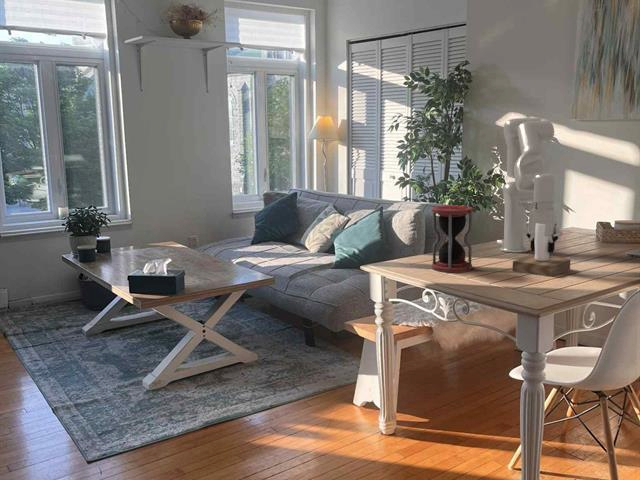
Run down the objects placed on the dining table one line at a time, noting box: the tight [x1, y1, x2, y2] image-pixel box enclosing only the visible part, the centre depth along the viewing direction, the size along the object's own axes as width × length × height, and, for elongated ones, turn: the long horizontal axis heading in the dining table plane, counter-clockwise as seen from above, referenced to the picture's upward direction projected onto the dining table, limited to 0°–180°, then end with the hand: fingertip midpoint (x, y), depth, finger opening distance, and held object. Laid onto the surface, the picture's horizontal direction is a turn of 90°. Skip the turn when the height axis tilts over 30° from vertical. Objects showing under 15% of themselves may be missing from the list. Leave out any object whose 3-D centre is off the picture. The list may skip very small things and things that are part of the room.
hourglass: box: [431, 204, 474, 273], centre depth 253 cm, size 16×16×25 cm
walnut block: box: [512, 254, 571, 277], centre depth 248 cm, size 16×16×4 cm
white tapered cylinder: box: [534, 223, 550, 261], centre depth 246 cm, size 7×7×15 cm
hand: (542, 251), depth 246 cm, fingers closed on white tapered cylinder, 6 cm apart
